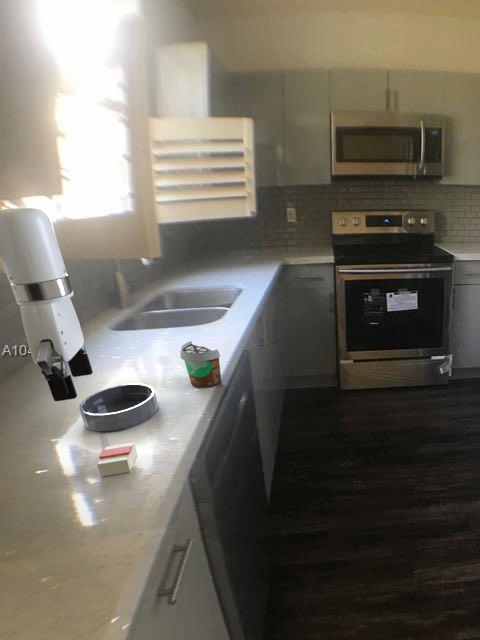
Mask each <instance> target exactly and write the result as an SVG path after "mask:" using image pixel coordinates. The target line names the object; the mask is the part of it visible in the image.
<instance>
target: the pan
mask: <svg viewBox="0 0 480 640" xmlns="http://www.w3.org/2000/svg"><path fill="white" fill-rule="evenodd" d="M158 408H159V402H158V399H157V395H156V391H155V389H154V387H153V386H151V385H149V384H145V383H126V384H119V385H116V386H111V387H108V388H104V389H102V390H99V391H97V392H95V393H93V394H91V395H88V396H87V397H86V398H85V399H83V400H82V401H81V402H80V404H79V412H80V415H81V419H82V422H83V425H84V426H85V427H86V428H87V429H88V430H91V431H95V432H114V431H115V432H116V431H121V430H126V429H128V428H132V427H134V426H137V425H139V424H141V423H144V422H145V421H147V420H148V419H150V418H151V417H152V416H153V415H154V414H155V413H157V412H158Z"/></svg>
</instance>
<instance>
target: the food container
mask: <svg viewBox="0 0 480 640" xmlns="http://www.w3.org/2000/svg"><path fill="white" fill-rule="evenodd" d="M179 356H180V359H181V360H183V361H184V365H185V368H186V371H187V374H188V377H189V381H190V385H191V384H192V385H191V386H192V387H194V388H199V389H205V388H206V389H207V388H213V387H217V386H220V385H222V384H223V383H222V374H221V366H220V365H221V364H220V363H221V362H220V358H221V354H220V352H219V349H218V348H217V349H214V350H212V349H210V348H207V347H205V346H199V345H196V344H193V341H192V340H190V341H187V342H185V343H184V344H183V345H182V346H181V347H180V353H179Z"/></svg>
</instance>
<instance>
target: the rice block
mask: <svg viewBox="0 0 480 640" xmlns="http://www.w3.org/2000/svg"><path fill="white" fill-rule="evenodd" d="M137 455H138V452H137V449H136V445H135V442H127V443H121V444H115V445H108V446H105V448H104V449H103V450H102V451H101V453H100V454H99V457H98V458H99V460H98V462H97V469H98V472H99V474H100V477H101V478H102V477H109V476H114V475H120V474H125V473H126V474H127V473H131V472H132V468H133V467H134V464H135V461H136V458H137Z"/></svg>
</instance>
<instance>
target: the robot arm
mask: <svg viewBox="0 0 480 640" xmlns="http://www.w3.org/2000/svg"><path fill="white" fill-rule="evenodd" d="M0 260H1V263H2V266H3V269H4V272H5V274H6V277H7V279H8V282H9V285H10V288H11V291H12V294H13V297H14V299H15V302H16V304H17V305H19V309H20V316H21V321H22V325H23V330H24V334H25V337H26V341H27V344H28V348H29V350H30V354H31V358H32V360H33V363H34V365H36V366H38V367H39V368H40V370H41V374H42V375H43V376H44V380H45V381H46V382H47V385H48V387H49V390H50V393H51V396H52V399H53V401H54V402H62V401H68V400H74V399H76V398H77V397H78V393H77V390H76V387H75V383H74V381H73V378H76V377H84V376H90V375H92V374H93V372H94V370H93V368H92V365H91V361H90V358H89V355H88V353H87V347H86V346H85V344H84V343H85V338H84V334H83V329H82V327H81V324H80V321H79V317H78V314H77V313H76V309H75V307H74V304H73V302H72V299H71V298H72V297H73V296H74V292H73V291H74V290H73V288H72V284H71V282H70V278H69V275H68V273H67V268H66V265H65V262H64V258H63V255H62V252H61V249H60V246H59V242H58V239H57V236H56V232H55V229H54V225H53V221H52V220H51V217H50V215H49V214H48V213H47V211H45V210H44V209H42V208H39V207H18V208H6V209H0ZM57 365H59V367H60V368H59V367H58V366H57ZM68 368H69V370H70V373H71V374H68ZM72 377H73V378H72Z"/></svg>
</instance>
